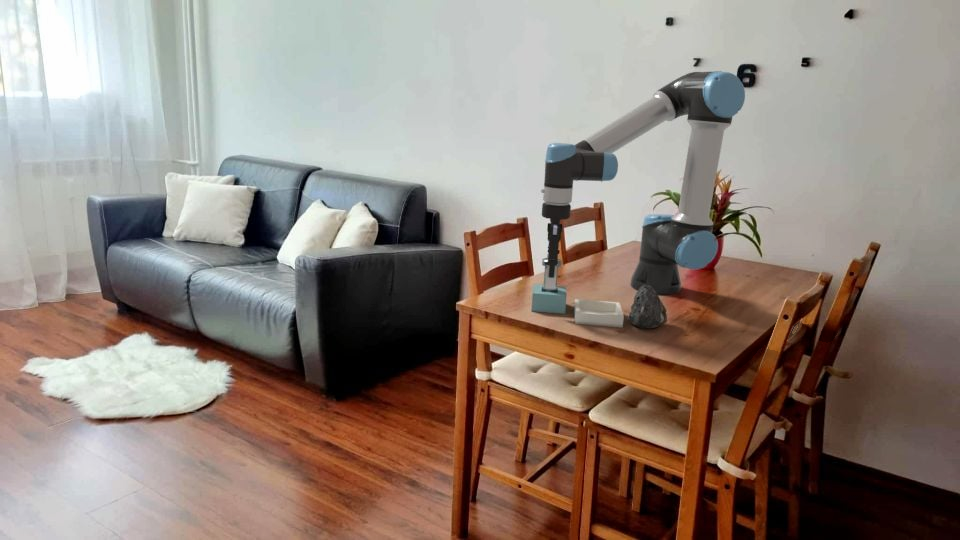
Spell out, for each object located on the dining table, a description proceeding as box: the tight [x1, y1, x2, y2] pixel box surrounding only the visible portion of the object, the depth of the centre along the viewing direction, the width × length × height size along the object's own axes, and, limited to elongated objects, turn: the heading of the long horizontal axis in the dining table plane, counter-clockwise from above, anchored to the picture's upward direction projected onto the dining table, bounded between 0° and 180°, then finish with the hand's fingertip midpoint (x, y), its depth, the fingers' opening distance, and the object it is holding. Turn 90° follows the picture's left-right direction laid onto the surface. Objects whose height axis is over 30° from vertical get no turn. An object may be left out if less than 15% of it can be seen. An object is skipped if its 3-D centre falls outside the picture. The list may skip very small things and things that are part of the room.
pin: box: [541, 257, 562, 293], centre depth 183 cm, size 5×5×13 cm
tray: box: [573, 298, 624, 328], centre depth 178 cm, size 12×12×3 cm
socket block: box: [531, 283, 567, 315], centre depth 185 cm, size 9×9×5 cm
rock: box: [626, 285, 668, 329], centre depth 174 cm, size 12×10×10 cm
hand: (550, 282), depth 183 cm, fingers open, 11 cm apart
